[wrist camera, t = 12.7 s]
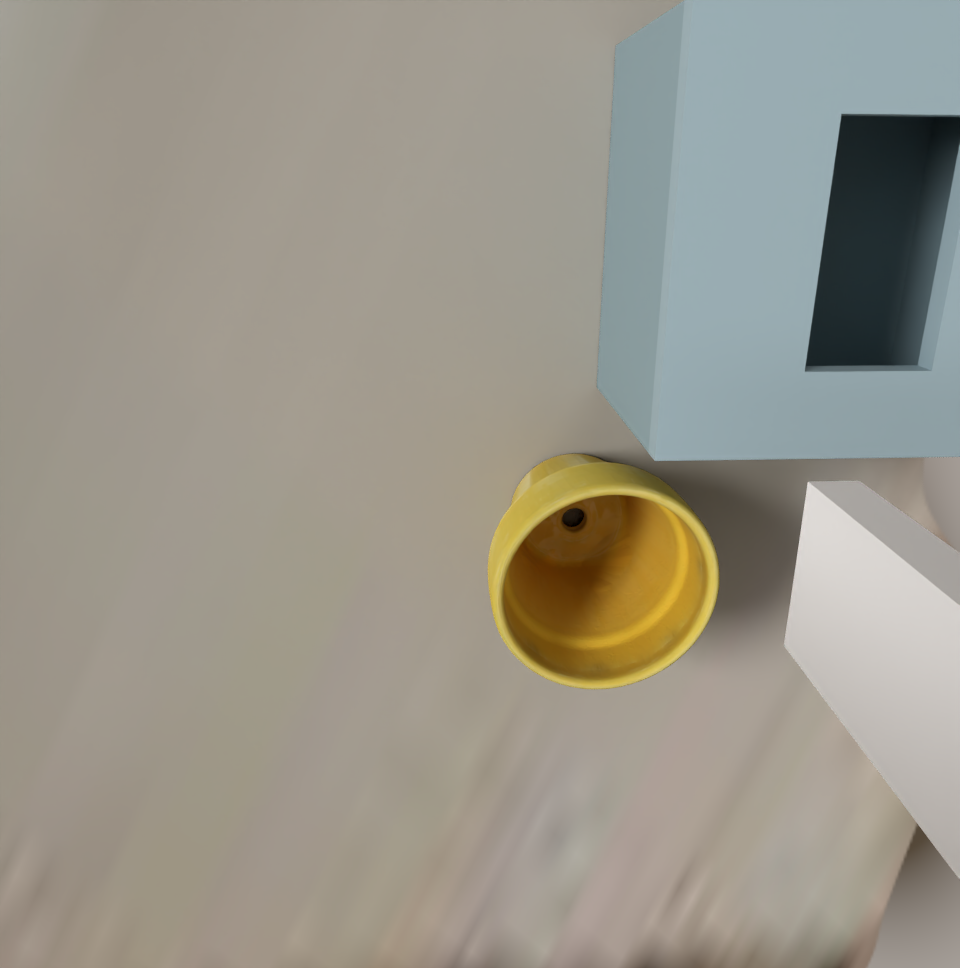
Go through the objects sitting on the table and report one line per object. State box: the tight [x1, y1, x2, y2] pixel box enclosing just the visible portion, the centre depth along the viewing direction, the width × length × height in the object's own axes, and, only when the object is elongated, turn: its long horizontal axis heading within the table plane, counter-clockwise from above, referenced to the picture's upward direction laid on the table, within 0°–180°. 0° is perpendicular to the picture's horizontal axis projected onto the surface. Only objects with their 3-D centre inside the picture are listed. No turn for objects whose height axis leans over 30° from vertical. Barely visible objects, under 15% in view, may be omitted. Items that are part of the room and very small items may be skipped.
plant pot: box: [488, 454, 719, 689], centre depth 42 cm, size 10×10×10 cm
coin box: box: [597, 0, 960, 461], centre depth 36 cm, size 16×16×12 cm
